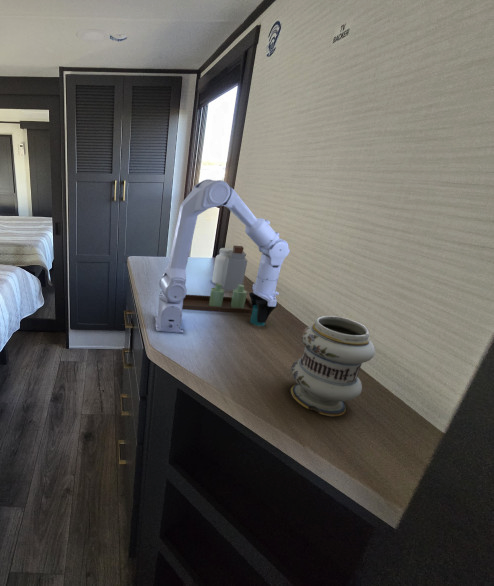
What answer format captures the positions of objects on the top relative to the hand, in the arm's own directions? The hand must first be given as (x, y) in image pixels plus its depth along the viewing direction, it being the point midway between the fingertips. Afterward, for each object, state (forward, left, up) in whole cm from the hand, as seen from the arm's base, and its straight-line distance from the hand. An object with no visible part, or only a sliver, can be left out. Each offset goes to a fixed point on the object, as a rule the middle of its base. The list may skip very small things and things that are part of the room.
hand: (258, 318), depth 98 cm
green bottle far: (+12, +3, -1) cm, 12 cm away
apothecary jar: (-35, -1, -2) cm, 35 cm away
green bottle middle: (+12, +10, -1) cm, 16 cm away
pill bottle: (+40, +2, -2) cm, 40 cm away
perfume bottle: (+32, 0, -2) cm, 32 cm away
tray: (+12, +10, -2) cm, 16 cm away
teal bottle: (0, 0, -2) cm, 2 cm away
